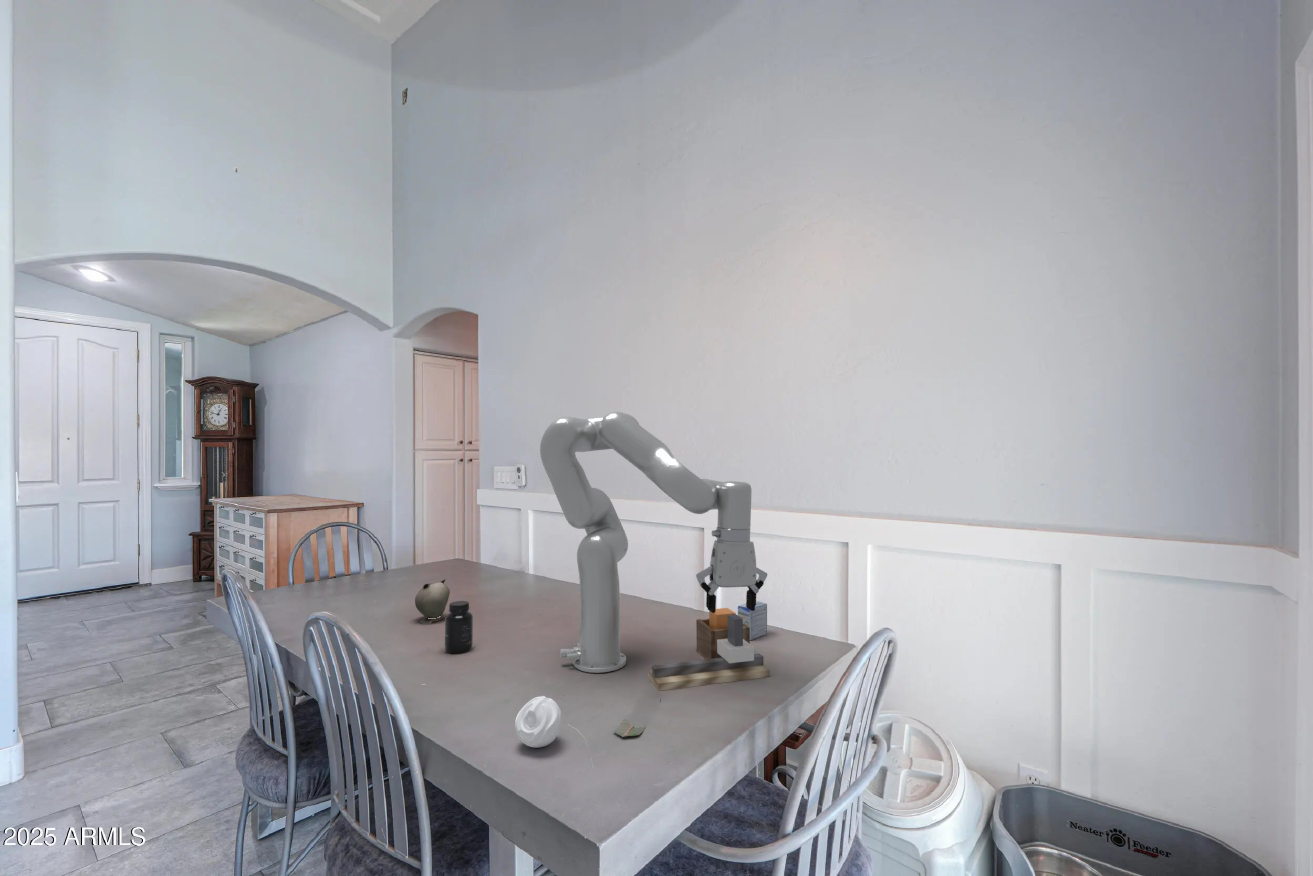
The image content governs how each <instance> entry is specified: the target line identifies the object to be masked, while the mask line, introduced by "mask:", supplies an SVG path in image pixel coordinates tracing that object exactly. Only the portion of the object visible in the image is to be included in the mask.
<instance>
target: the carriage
mask: <svg viewBox="0 0 1313 876" xmlns="http://www.w3.org/2000/svg"><path fill="white" fill-rule="evenodd" d="M727 624H728V639H719V640H717V653H718V654H719V655H720V656H722V657H723V658H724V659H725V660H726V661H727V662H728V663H737V662H745V661H754V654H755V647H754V645H752V644H751V643H750V644H749V643H748V642H747V641H745V640H744V639H743V619H742V618H741V617H739V616H738V614H737V613H736V614H730V615H727Z"/></svg>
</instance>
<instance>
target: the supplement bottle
mask: <svg viewBox="0 0 1313 876" xmlns="http://www.w3.org/2000/svg"><path fill="white" fill-rule="evenodd" d="M448 606H449V607H448V608H449V609H448V612H449V613H448V614H447V615H446V616H445V617H444V618H445V619H444V651H445V652H446V653H447V654H450V655H459V654H464V653H467V652H470V651H471V650H473V645H474V643H473V641H474V640H473V638H474V634H473V633H474V631H473V630H474V628H473V627H474V625H473V624H474V621H473V620H474V616H473V614H472V613H471V612H470V603H469V601H467V600H457V601H456V600H455V601H451V602H450V603H449V605H448Z"/></svg>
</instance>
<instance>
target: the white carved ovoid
mask: <svg viewBox="0 0 1313 876" xmlns="http://www.w3.org/2000/svg"><path fill="white" fill-rule="evenodd" d="M561 726H562V710H561V708H560V707H559V705H558V703H557V702H556V701H555V700H554V699H552V698H551V697H546V696H545V695H541V696H536V697H534V698H533V697H532V698H531V699H530V700H529V701H528V702H526V703H525V704H524V706H522V707H521V709H520V710H519V711H518V713H517V715H516V718H515V721H514V727H515V733H516V735H517V738H518V740H520V742H521V743H522V744H524V745H525V746H527V747H529V748H530V747H531V748H534V749H535V748H537V749H539V748H543V747H546V746H548V745H550V744H551V743H552V742H554V741H555V740H556V738H557V736H558V734H559V733H560V730H561Z"/></svg>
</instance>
